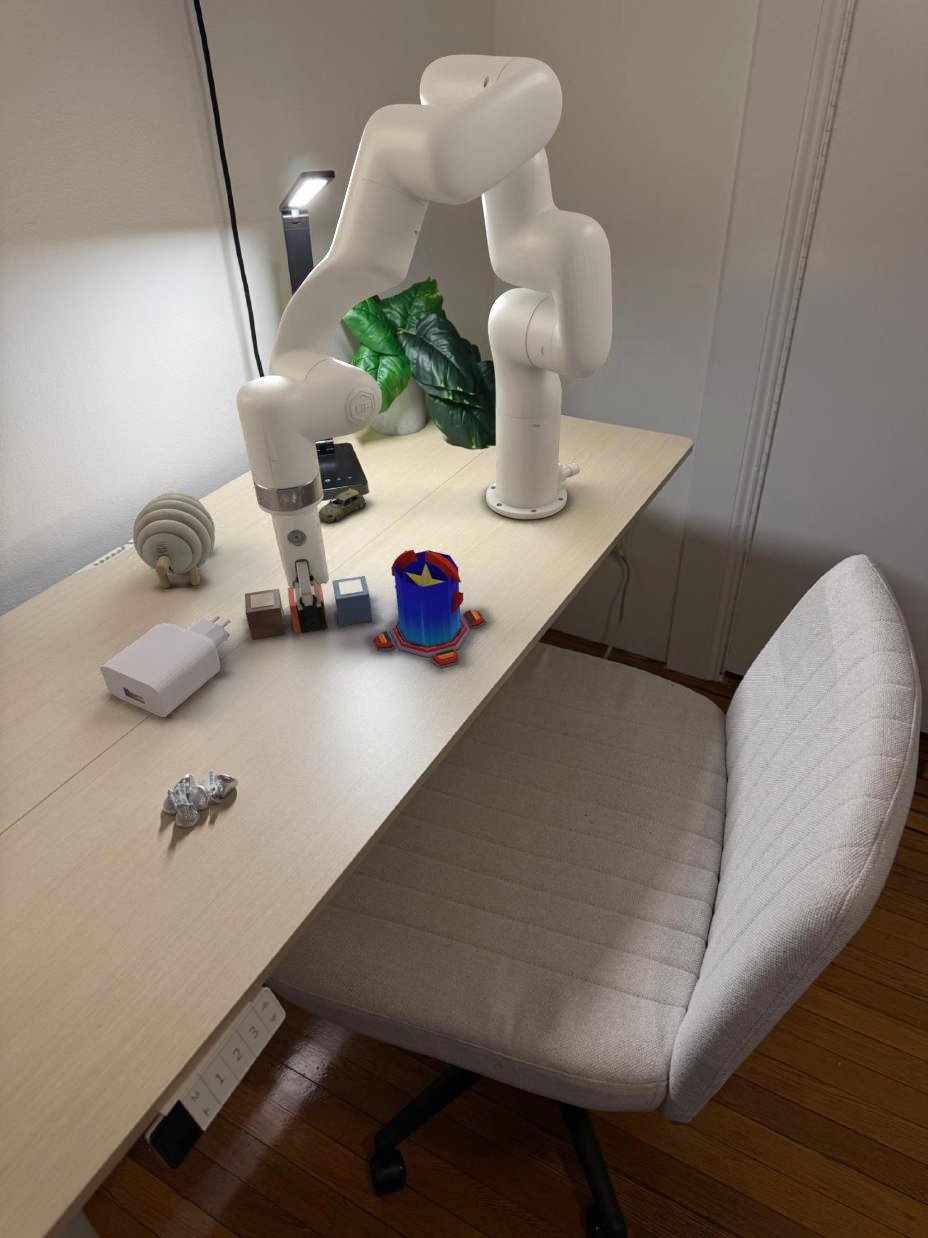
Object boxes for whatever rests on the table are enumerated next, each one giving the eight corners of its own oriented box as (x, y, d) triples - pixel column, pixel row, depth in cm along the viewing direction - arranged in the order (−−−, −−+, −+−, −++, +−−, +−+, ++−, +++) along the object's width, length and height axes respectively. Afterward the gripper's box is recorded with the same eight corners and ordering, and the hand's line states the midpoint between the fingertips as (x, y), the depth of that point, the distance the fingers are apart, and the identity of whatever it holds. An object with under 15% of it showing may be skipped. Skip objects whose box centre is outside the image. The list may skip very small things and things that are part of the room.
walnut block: (284, 614, 106) (278, 587, 104) (285, 634, 103) (280, 607, 100) (251, 619, 106) (244, 592, 103) (251, 639, 102) (245, 612, 100)
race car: (314, 517, 126) (311, 503, 124) (353, 497, 130) (351, 483, 129) (329, 525, 124) (327, 510, 122) (368, 504, 128) (367, 490, 127)
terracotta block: (325, 608, 107) (320, 581, 104) (328, 628, 104) (323, 600, 101) (292, 613, 106) (287, 586, 104) (294, 633, 103) (289, 606, 100)
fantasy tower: (365, 647, 100) (355, 566, 93) (409, 595, 109) (403, 516, 102) (453, 671, 96) (449, 589, 89) (491, 615, 105) (491, 535, 98)
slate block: (368, 601, 108) (364, 575, 105) (372, 620, 105) (369, 593, 102) (336, 606, 107) (332, 579, 105) (339, 625, 104) (335, 598, 101)
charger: (256, 644, 101) (167, 720, 91) (200, 623, 105) (109, 694, 95) (249, 614, 99) (157, 689, 88) (192, 593, 102) (97, 663, 92)
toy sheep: (225, 536, 122) (209, 469, 115) (220, 602, 109) (201, 530, 102) (152, 545, 121) (131, 477, 114) (137, 612, 107) (113, 541, 101)
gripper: (328, 520, 87) (348, 644, 98) (315, 450, 101) (333, 565, 111) (257, 531, 86) (285, 654, 97) (253, 458, 100) (278, 573, 110)
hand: (311, 606), depth 104 cm, fingers open, 9 cm apart
